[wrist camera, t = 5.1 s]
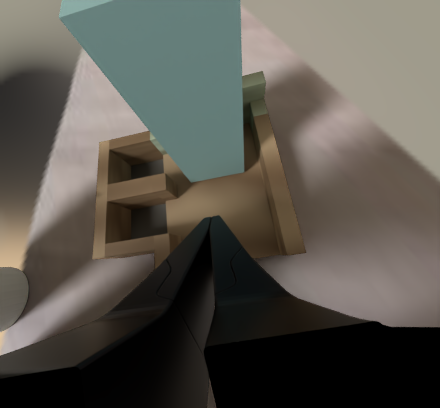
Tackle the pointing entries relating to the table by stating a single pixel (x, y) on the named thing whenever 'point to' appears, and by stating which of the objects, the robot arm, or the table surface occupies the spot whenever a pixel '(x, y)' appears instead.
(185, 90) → the block
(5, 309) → the coffee cup
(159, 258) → the trap channel
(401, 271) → the table surface
